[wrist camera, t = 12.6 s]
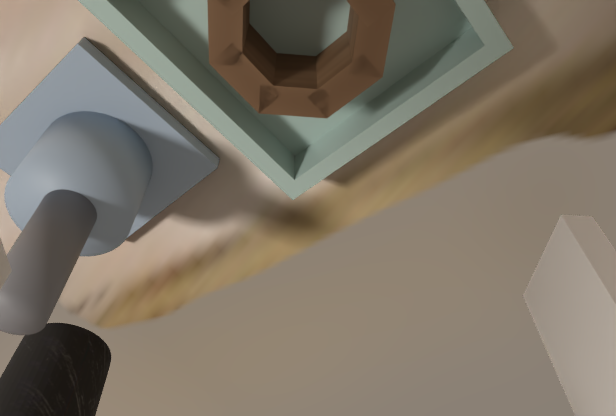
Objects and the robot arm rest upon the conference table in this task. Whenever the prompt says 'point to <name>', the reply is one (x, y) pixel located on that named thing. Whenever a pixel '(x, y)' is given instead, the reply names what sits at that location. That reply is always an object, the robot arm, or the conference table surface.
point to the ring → (299, 60)
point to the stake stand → (85, 176)
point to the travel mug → (55, 373)
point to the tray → (310, 41)
